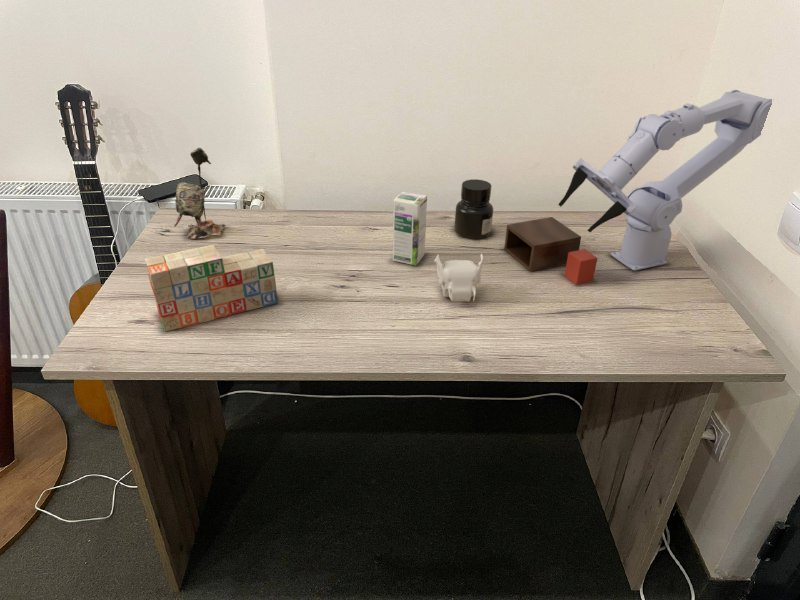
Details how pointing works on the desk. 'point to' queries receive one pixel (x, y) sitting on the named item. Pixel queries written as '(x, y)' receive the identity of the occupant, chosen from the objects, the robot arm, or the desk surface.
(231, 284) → the stack of blocks
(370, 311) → the desk surface
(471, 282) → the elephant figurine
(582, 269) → the block
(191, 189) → the brown bird figurine
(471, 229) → the ink bottle
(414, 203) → the syrup box
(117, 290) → the desk surface
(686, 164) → the robot arm
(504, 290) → the desk surface
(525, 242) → the brown open wooden box
